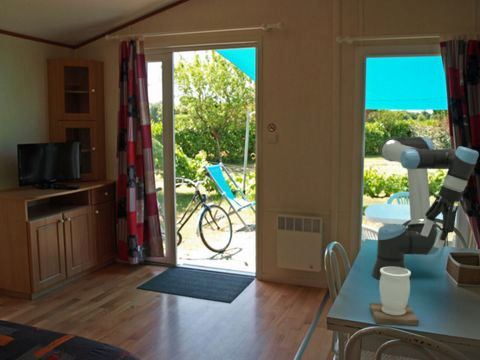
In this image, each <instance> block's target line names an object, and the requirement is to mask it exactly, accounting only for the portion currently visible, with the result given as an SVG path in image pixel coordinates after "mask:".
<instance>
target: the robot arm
mask: <svg viewBox="0 0 480 360" xmlns="http://www.w3.org/2000/svg"><path fill="white" fill-rule="evenodd" d="M379 153H380V155H381V157H382V158H383V159H384V160H386V161H388V162H396V163H397V162H398V163H400V164H401V167H402V168H403V169H406V170H407V182H408V184H407V185H408V197H409V198H408V199H409V201H408V202H409V213H410V215H409V216H410V222H408V223H407V227H406V225H404V224H402V223H401V224H399V223H391V224H385V225H382V226H380V227H379V228H378V231H377V247H376V260H375V262H374V265H373V267H372V270H371V274H372V275H371V276H372V277H373V278H375V279H377V280H379V281H380V277H381V275H382V274H381V273H380V269H381V268H383V267H400V268H404V269H407V267H406V264H405V256H406V255H420V256H421V255H422V256H423V255H425V256H427V255H435V254H436V253H438V252H439V250H442V248H443V247H444V244H445V243H446V240H447V238H448V235H449V233H451V234H452V233H454V230H455V223H456V219H457V218H456V217H457V212H458V210H459V206H458V205H455V203H458V202H460V201H461V199H462V196H463V192H464V191H465V188H466V187H467V186H468V182H469V179H470V177H471V175H472V173H473V170H474V169H475V166H476V164H477V162H478V161H477V160H478V158H479V155H480V154H479V152H478V151H477V150H475V149H471V148H468V147H464V146H460V145H459V146H458V147H457V148H456V149H455V148H454V149H453V148H450V147H449V148H447V147H445V148H441V149H440V148H439V149H436V148H435V145H434V143H433V141H432V140H431V138H430V137H426V136H393V137H389V138H387V139H386V140H383V142H382V143H381V145H380V148H379ZM428 170H447V172H446V174H445V176H444V179H443V182H442V186H440V187H441V188H440V189H439V191H438V195H436V198H435V199H434V201H433V203H432V204H431V201H430V187H429V173H428ZM440 214H442V226H441V227H442V228H437V227H436V223H435V221H436V218H437V217H438V216H439V215H440Z"/></svg>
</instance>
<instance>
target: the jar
mask: <svg viewBox="0 0 480 360" xmlns="http://www.w3.org/2000/svg"><path fill="white" fill-rule="evenodd" d="M380 273H381V274H382V275H381V277H380V280H379V295H380V296H379V297H380V301H381V303H382V305H383V306H382V308H381V309H382V311H383V312H384V313H386V314H389V315H395V316H399V315H404V314H405V313H406V310H405V307H406V305H408V302H409V297H410V293H411V292H410V291H411V281H410V277H411V275H412V272H411V270H409V269H407V268H406V269H404V268H400V267H383V268H381V269H380Z"/></svg>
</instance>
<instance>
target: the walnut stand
mask: <svg viewBox="0 0 480 360" xmlns="http://www.w3.org/2000/svg"><path fill="white" fill-rule="evenodd" d="M382 306H383V305H382V302H381V303H378V302H377V303H376V302H369V310H370V312H371V315H372V317H373V319H374V322H375V324H376V325H387V326H388V325H389V326H390V325H392V326H408V327H410V326H411V327H419V326H420V325H419V324H420V321H419V319H418V317H417V315H416V314H415V313H414V310H412V308H411V306H410V305H409V304H407V305H406V307H405V310H406V313H405V314H404V315H399V316H395V315H389V314H386V313H384V312H383V311H382V309H381V308H382Z"/></svg>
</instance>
